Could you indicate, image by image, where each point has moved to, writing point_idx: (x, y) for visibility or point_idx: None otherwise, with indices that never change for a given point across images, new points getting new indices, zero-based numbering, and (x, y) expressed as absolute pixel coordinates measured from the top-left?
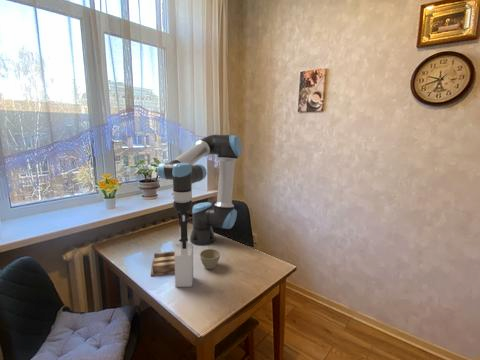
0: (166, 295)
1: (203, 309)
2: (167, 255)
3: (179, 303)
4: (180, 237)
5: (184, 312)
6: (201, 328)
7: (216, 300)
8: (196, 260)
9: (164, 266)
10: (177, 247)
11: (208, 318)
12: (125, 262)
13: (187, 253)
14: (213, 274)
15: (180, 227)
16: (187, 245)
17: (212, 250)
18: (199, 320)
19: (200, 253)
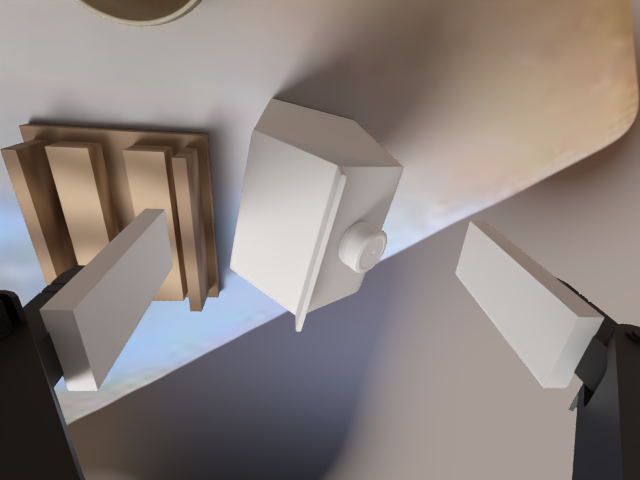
0: None
1: (531, 91)
2: (57, 237)
3: (444, 187)
4: (156, 282)
5: (503, 173)
6: (618, 120)
7: (510, 6)
8: (70, 42)
9: (198, 257)
10: (318, 294)
11: (591, 80)
12: None
13: (493, 230)
14: None
15: (77, 378)
16: (548, 273)
17: None
18: (577, 120)
19: (110, 15)
